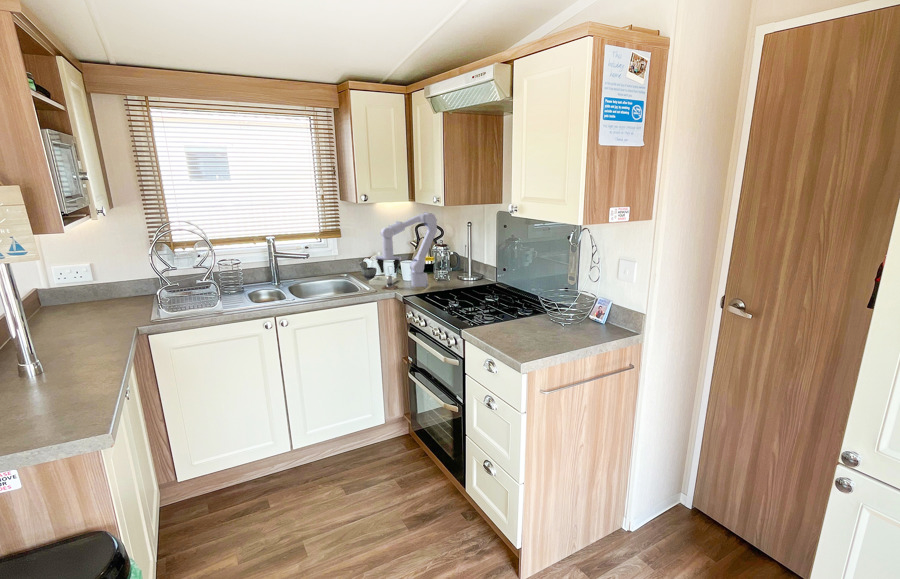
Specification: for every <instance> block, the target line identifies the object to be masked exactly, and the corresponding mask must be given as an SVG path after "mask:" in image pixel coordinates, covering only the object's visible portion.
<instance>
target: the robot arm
mask: <svg viewBox="0 0 900 579" xmlns="http://www.w3.org/2000/svg"><path fill="white" fill-rule="evenodd" d="M437 219H438V218H436V215H435V214H434V213H432V212H427V211H426V212H422V213H419V214H417V215H414V216H412V217H410V218H409V219H407V220H405V221H400V220H397V221H395V223H392V224H389V225H387V227H386V226H385V227H382V229H381V230H380V235H381V238H382V239H381V240H382V255H378V256H375V261H376V262H377V265H378V266H379V269H380V272H381V273H382V274H383V273H384V272H385V271H384V261H393V269H394V270H393V272H394V274H396V273H397V272H398V268H399V267H398V266H399V264H400V262H401V261H402V256H396V255H394V243H393V242H394V241H393V236H395V235H397V234H400V233H403V232H404V231H405V229H406V228H409V227H410V226H412V225H414V224H417V223H422V224H424V226H425V228H426V229H427V230H426V233H425V235H424V237H423V239H422V242H421V245H420V247H419V249H418V251H417V253H416V255H415V256H414V257H413V260H411V261H410V263H409V267H410V269H411V271H410V279H411V285H410V286H411V287H415V288H419V287H420V288H421V287H422V288H423V289H424V290H426V289H427V288H428V287H429V280H428V276H429V275H428V273H427V272H424V270H425V265H426V257H427V255H428V253H429V251H430V248H431V246H432V244H433V241H434V239H435V236H436V234H437V232H438V226H437V222H438V220H437Z"/></svg>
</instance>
